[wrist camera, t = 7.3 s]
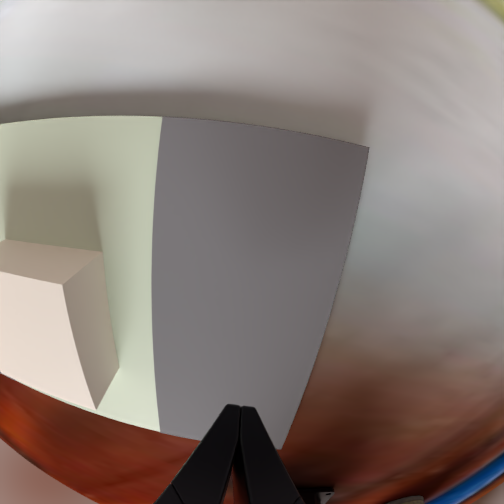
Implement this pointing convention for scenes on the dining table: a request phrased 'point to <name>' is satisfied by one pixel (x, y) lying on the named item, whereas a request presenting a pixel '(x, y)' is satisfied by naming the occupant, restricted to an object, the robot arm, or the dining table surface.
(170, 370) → the mats
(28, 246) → the cream block
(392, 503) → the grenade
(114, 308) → the board
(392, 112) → the dining table surface
